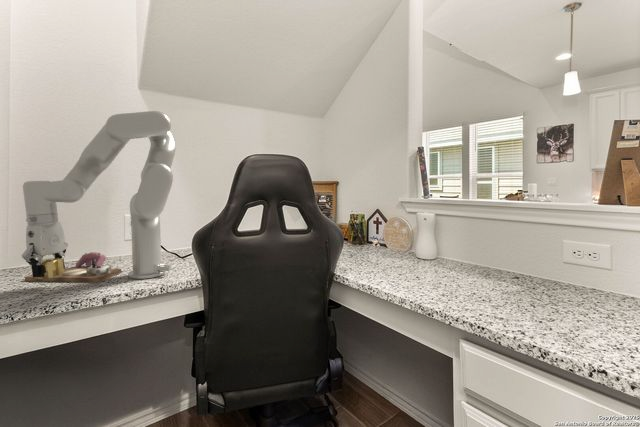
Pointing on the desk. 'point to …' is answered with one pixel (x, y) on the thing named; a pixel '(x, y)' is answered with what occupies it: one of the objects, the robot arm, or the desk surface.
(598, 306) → the desk surface
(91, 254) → the video game controller
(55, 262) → the brass gear
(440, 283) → the desk surface
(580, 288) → the desk surface
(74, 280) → the gear board
